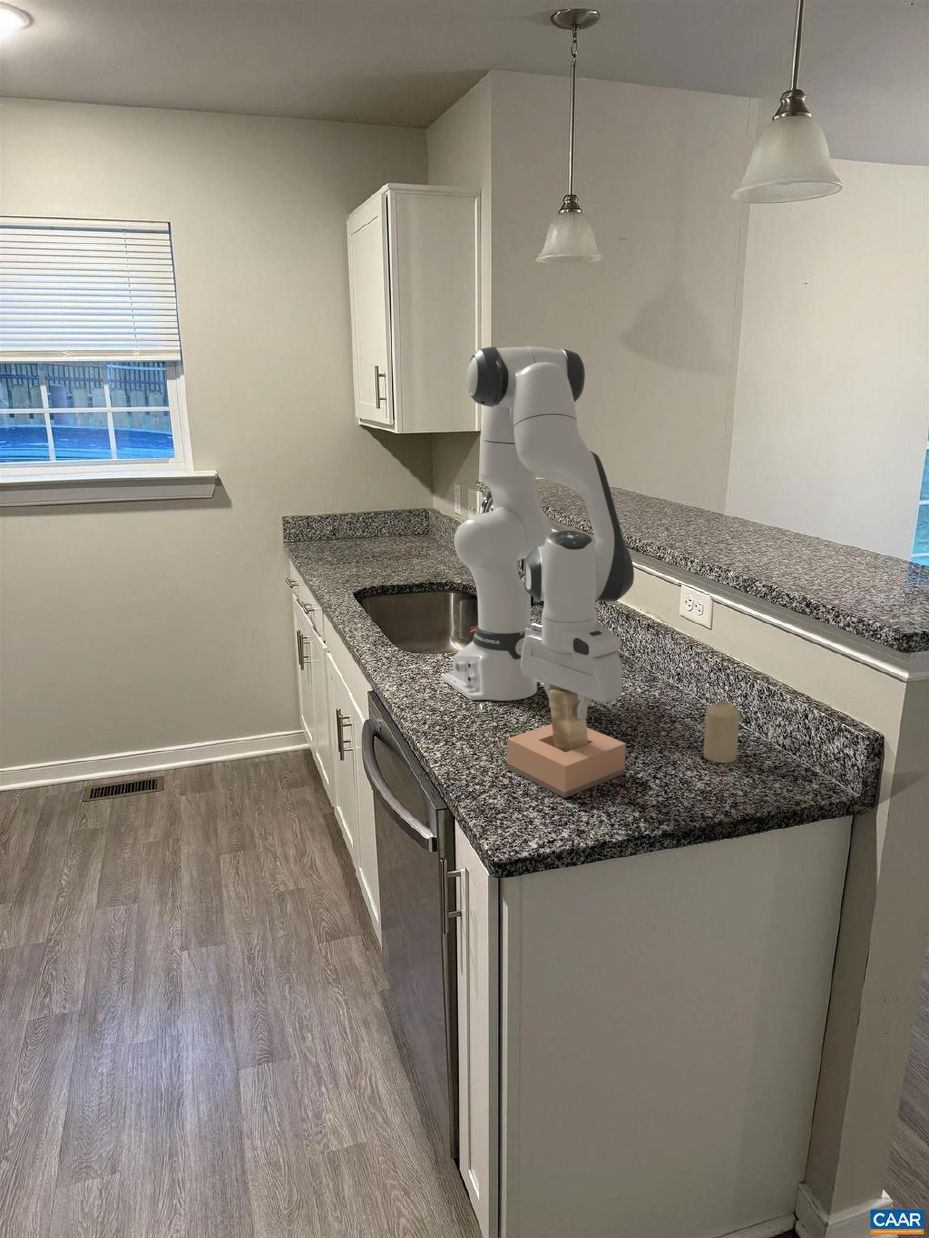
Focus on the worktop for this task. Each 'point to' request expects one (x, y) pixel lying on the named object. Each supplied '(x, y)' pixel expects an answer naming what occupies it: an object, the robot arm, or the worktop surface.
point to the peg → (566, 720)
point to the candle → (721, 732)
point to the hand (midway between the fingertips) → (567, 712)
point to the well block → (565, 760)
